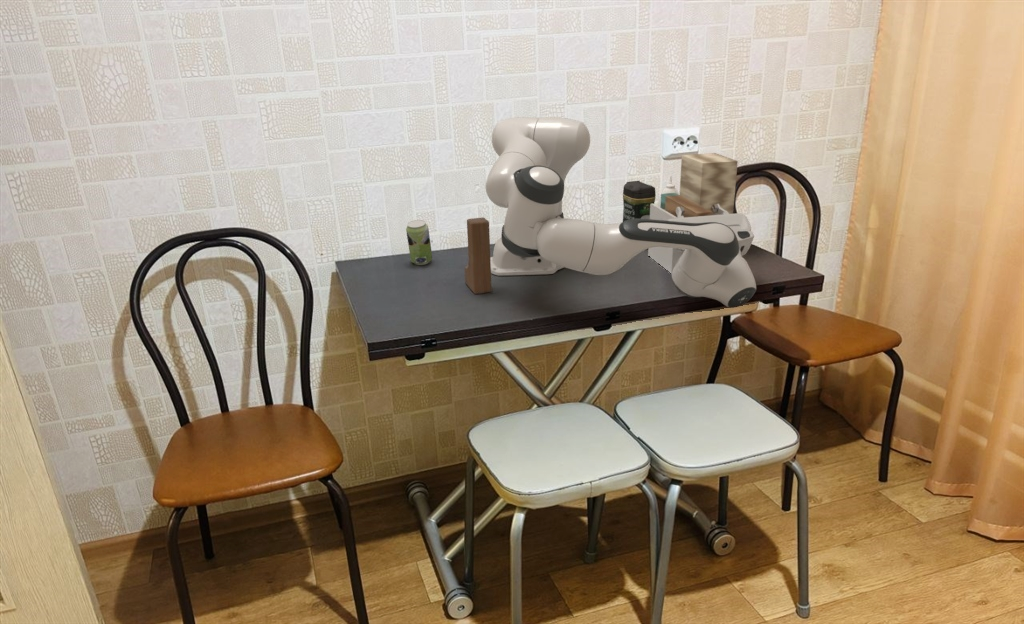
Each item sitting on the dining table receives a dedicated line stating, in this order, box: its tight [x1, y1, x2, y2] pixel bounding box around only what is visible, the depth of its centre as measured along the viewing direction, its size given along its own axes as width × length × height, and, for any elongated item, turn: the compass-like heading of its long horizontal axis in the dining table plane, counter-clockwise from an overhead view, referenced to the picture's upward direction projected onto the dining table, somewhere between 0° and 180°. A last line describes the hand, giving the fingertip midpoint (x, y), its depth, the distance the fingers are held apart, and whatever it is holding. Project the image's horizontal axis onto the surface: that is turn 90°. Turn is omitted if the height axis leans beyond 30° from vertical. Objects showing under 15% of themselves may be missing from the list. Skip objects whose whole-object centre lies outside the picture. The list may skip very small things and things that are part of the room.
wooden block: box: [464, 217, 492, 295], centre depth 184 cm, size 9×4×18 cm, turn 18°
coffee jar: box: [622, 180, 656, 222], centre depth 215 cm, size 10×8×19 cm
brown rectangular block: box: [660, 193, 712, 218], centre depth 191 cm, size 4×22×4 cm, turn 12°
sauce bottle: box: [656, 176, 680, 207], centre depth 225 cm, size 8×8×18 cm
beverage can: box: [405, 219, 433, 266], centre depth 205 cm, size 6×7×12 cm
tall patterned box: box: [679, 152, 739, 215], centre depth 208 cm, size 10×13×26 cm
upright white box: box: [647, 203, 684, 274], centre depth 199 cm, size 8×16×15 cm, turn 12°
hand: (696, 207), depth 184 cm, fingers open, 8 cm apart
